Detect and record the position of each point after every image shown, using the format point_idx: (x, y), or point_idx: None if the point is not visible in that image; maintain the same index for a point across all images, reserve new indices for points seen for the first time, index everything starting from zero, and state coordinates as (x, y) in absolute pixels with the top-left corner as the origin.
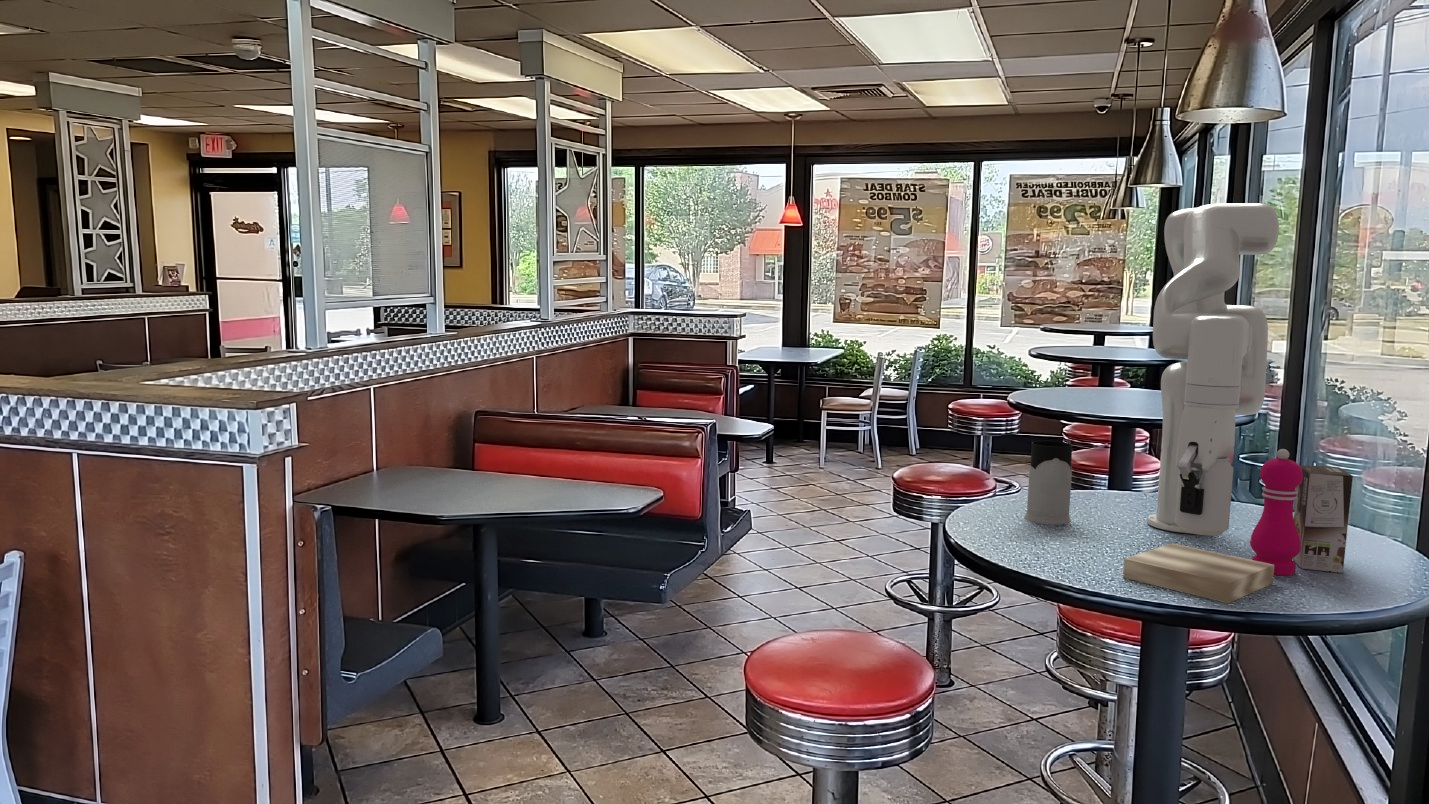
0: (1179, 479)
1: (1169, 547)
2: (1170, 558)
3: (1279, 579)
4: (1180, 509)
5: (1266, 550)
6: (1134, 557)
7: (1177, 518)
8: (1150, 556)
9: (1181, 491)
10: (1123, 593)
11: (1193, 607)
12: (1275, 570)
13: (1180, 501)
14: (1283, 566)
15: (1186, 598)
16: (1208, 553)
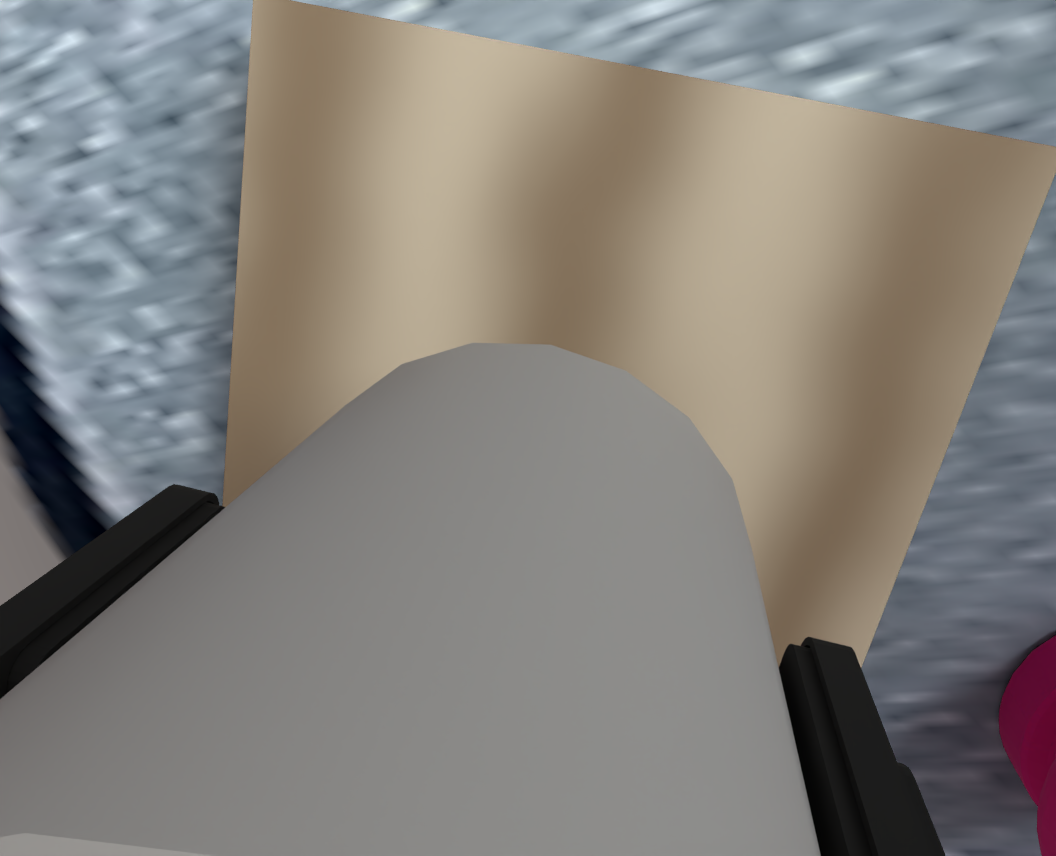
0: (121, 612)
1: (876, 173)
2: (513, 271)
3: (915, 746)
4: (169, 493)
5: (1047, 785)
6: (348, 44)
7: (357, 399)
8: (468, 135)
9: (10, 603)
10: (13, 134)
11: (81, 478)
12: (1008, 745)
13: (108, 530)
14: (1033, 798)
15: (192, 424)
16: (859, 454)
